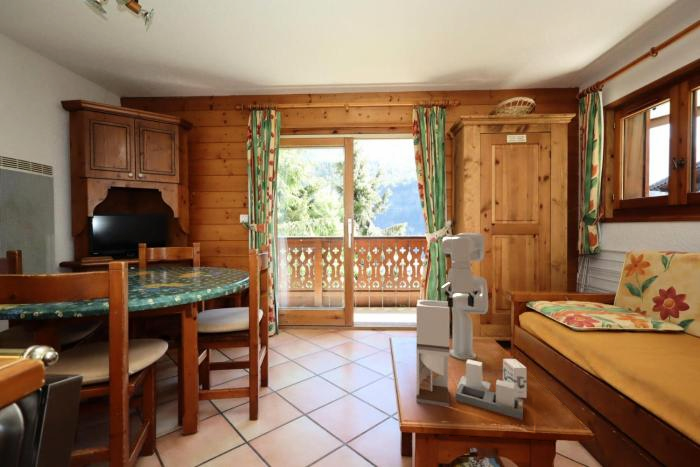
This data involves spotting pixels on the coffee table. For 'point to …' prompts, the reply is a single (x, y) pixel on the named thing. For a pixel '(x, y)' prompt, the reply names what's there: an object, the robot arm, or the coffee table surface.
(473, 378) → the plug
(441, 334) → the display case
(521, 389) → the ink box
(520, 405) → the power strip
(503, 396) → the off-white rectangular block
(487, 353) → the coffee table surface
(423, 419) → the coffee table surface
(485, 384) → the mat
